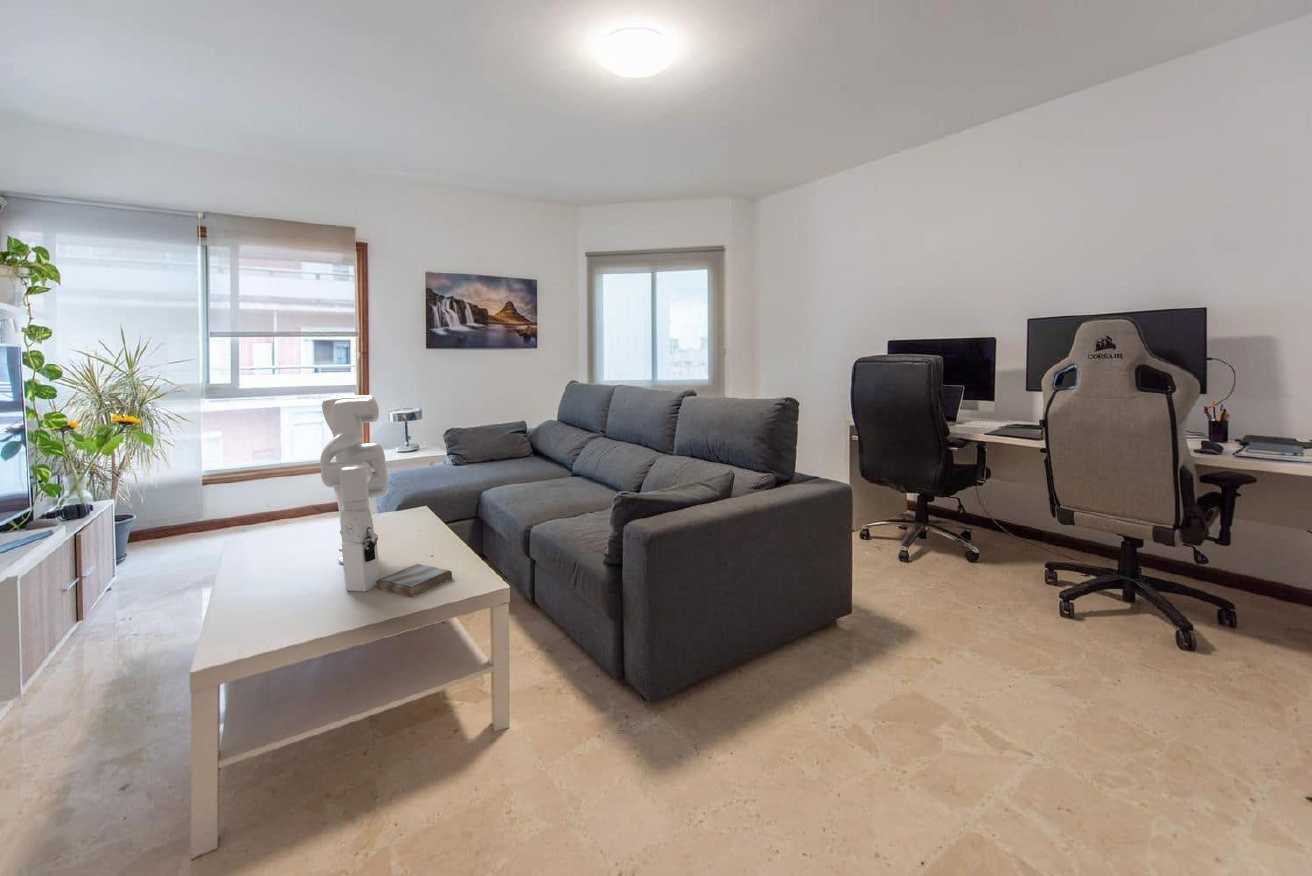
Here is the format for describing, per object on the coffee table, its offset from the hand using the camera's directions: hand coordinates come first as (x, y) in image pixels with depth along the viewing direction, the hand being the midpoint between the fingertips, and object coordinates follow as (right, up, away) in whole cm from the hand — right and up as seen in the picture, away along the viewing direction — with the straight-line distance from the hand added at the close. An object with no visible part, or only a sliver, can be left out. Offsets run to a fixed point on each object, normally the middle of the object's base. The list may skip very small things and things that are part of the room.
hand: (360, 558), depth 180 cm
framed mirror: (+16, -9, +3) cm, 18 cm away
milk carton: (0, -10, +1) cm, 10 cm away
